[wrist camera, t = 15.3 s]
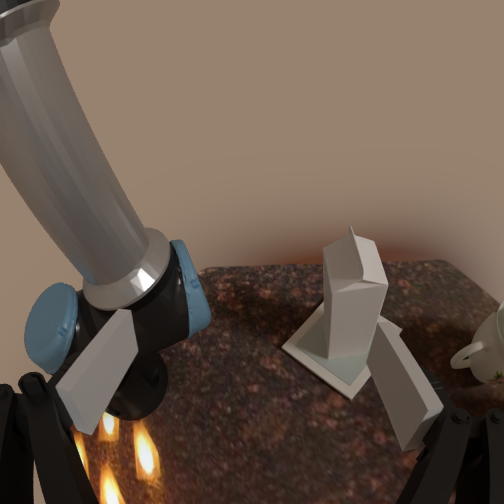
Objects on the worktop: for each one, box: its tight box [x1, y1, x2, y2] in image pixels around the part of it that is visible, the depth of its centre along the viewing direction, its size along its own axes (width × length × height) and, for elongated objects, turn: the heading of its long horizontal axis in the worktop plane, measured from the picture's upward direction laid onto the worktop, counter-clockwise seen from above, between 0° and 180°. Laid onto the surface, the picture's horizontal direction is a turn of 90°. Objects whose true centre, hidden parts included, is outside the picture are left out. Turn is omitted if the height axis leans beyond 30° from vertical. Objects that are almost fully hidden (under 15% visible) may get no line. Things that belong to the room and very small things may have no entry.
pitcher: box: [450, 300, 504, 384], centre depth 29 cm, size 11×18×14 cm, turn 87°
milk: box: [323, 225, 388, 359], centre depth 35 cm, size 6×6×22 cm
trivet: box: [282, 301, 402, 400], centre depth 44 cm, size 14×14×1 cm
